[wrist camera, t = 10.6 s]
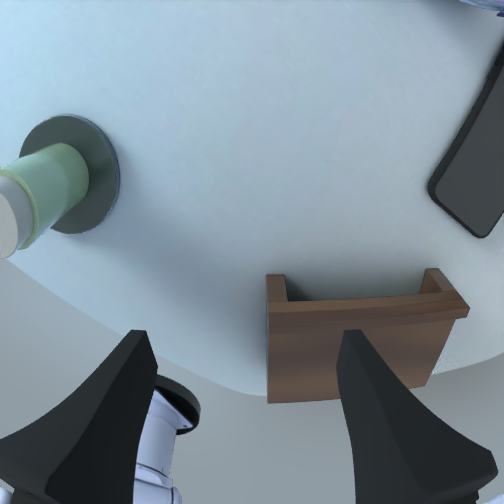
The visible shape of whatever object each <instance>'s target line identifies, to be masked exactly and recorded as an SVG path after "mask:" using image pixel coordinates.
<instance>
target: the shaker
mask: <svg viewBox="0 0 504 504" xmlns="http://www.w3.org/2000/svg"><path fill="white" fill-rule="evenodd" d="M88 187H89V172H88V168H87V165H86V162H85V160H84V159H83V157H82V155H81V154H80V153H79V152H78V151H77V150H76V149H75V148H73V147H72V146H70V145H67V144H63V143H56V144H52V145H49V146H47V147H45V148H42V149H40V150H37V151H35V152H33V153H30V154H28V155H26V156H24V157H21V158H19V159H17V160H15V161H13V162H10V163H8V164H6V165H4V166H2V167H0V258H7V257H9V256H11V255H12V254H13V253H14V252H15V251H16V250H23V249H26V248H28V247H29V246H30V245H32V244H33V243H34V242H35V241H36V240H37V239H38V238H39V237H40V236H42V235H43V234H44V233H45V232H46V231H47V230H48V229H50V228H51V227H52V226H53V225H54V224H55V223H57V222H58V221H59V220H60V219H61V218H62V217H64V216H65V215H66V214H67V213H68V212H70V211H71V210H72V209H73V208H74V207H76V206H77V205H78V204H79V203H80V202H81V201H82V200H83V199H84V197H85V195H86V193H87V191H88Z"/></svg>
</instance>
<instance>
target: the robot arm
mask: <svg viewBox="0 0 504 504" xmlns="http://www.w3.org/2000/svg"><path fill="white" fill-rule="evenodd" d="M157 369H158V365H157V362H156V359H155V357H154V353H153V350H152V347H151V344H150V341H149V338H148V335H147V332H146V331H145V330H131V331H130V332H129V333H128V334H127V335H126V336H125V337H124V338H123V339H122V341H121V342H120V343H119V344H118V345H117V346H116V347H115V349H114V350H113V351H112V352H111V353H110V354H109V356H108V357H107V358H106V359H105V360H104V361H103V362H102V363H101V364H100V366H99V367H98V368H97V369H96V370H95V371H94V372H93V373H92V374H91V375H90V376H89V377H88V378H87V379H86V380H85V381H84V382H83V383H82V384H81V385H80V386H79V387H78V388H77V389H76V390H75V391H74V392H73V393H72V394H71V395H70V396H68V397H67V398H66V399H65V400H64V401H62V402H61V403H60V404H59V405H57V406H56V407H55V408H53V409H52V410H50V411H49V412H48V413H46V414H45V415H44V416H42V417H41V418H39V419H38V420H36V421H35V422H33V423H31V424H29V425H28V426H26V427H24V428H23V429H21V430H19V431H17V432H15V433H13V434H11V435H8V436H7V437H4V438H2V439H0V479H2V480H3V481H5V482H6V483H7V484H9V485H10V486H12V487H13V488H14V489H15V490H14V492H13V493H11V492H9V491H8V490H6V489H4V488H2V487H0V504H182V497H181V494H180V493H179V491H178V489H177V488H175V487H172V482H173V479H171V478H169V474H170V468H171V461H172V454H173V448H174V443H175V437H176V431H177V429H183V428H191V427H193V423H192V422H191V421H190V420H189V419H188V418H187V417H186V416H185V415H184V414H183V413H181V412H180V411H179V410H178V409H177V408H176V407H175V406H174V405H173V404H172V403H171V402H170V401H169V400H168V399H167V398H166V397H165V396H164V395H163V394H162V393H161V392H160V391H159V390H158V389H155V382H156V376H157ZM336 372H337V381H338V388H339V394H340V398H341V402H342V406H343V410H344V415H345V419H346V423H347V427H348V431H349V436H350V440H351V446H352V453H353V463H354V476H355V492H356V494H355V495H356V504H476V500H478V499H479V495H478V490H479V489H481V488H482V487H484V486H485V485H486V484H488V483H489V482H490V481H491V480H493V479H494V478H495V477H496V476H497V474H498V469H497V466H496V463H495V460H494V457H493V455H492V453H491V451H490V450H487V449H486V448H484V447H482V446H480V445H478V444H476V443H475V442H473V441H471V440H469V439H468V438H466V437H465V436H463V435H462V434H460V433H458V432H457V431H455V430H454V429H453V428H451V427H450V426H449V425H447V424H446V423H445V422H444V421H442V420H441V419H440V418H438V417H437V416H436V415H435V414H433V413H432V412H431V411H430V410H429V409H428V408H427V407H426V406H424V405H423V404H422V403H421V402H420V401H419V400H418V399H417V398H416V397H415V396H414V395H413V394H412V393H411V392H410V391H409V390H408V388H407V387H406V386H405V385H404V384H403V383H402V382H401V381H400V380H399V378H398V377H397V376H396V375H395V374H394V372H393V371H392V370H391V369H390V367H389V366H388V365H387V364H386V363H385V361H384V360H383V359H382V357H381V356H380V355H379V353H378V352H377V351H376V349H375V348H374V347H373V345H372V344H371V343H370V341H369V340H368V339H367V337H366V336H365V334H364V333H363V332H362V330H361V329H352V330H344V333H343V337H342V342H341V346H340V351H339V355H338V359H337V364H336ZM483 504H504V493H503V494H501V495H499V496H497V497H495V498H493V499H491V500H489V501H487V502H485V503H483Z"/></svg>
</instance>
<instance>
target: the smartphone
mask: <svg viewBox="0 0 504 504" xmlns="http://www.w3.org/2000/svg"><path fill="white" fill-rule="evenodd" d="M428 193H429V195H430V197H431V198H432V200H433V201H434V202H435V203H436V204H438V205H439V206H440V207H441V208H442V209H444V210H445V211H446V212H447V213H448V214H449V215H451V216H452V217H453V218H454V219H455V220H457V221H458V222H459V223H460V224H461V225H462V226H463V227H464V228H465V229H467V230H468V231H469V232H470V233H471V234H472V235H473V236H475V237H477V238H485V237H486V236H488V235H489V234H490V232H491V231H492V229H493V228H494V226H495V225H496V224H497V222H498V221H499V219H500V217H501V216H502V214H503V213H504V46H503V48H502V52H501V54H500V55H499V57H498V59H497V61H496V63H495V67H494V68H493V69H492V71H491V73H490V75H489V77H488V81H487V83H486V85H485V87H484V88H483V90H482V92H481V94H480V96H479V98H478V100H477V102H476V103H475V105H474V107H473V109H472V111H471V113H470V114H469V116H468V118H467V120H466V121H465V123H464V125H463V127H462V128H461V130H460V132H459V134H458V135H457V137H456V139H455V140H454V142H453V144H452V145H451V147H450V149H449V150H448V152H447V153H446V155H445V157H444V158H443V160H442V162H441V163H440V165H439V166H438V168H437V169H436V171H435V173H434V174H433V176H432V177H431V179H430V181H429V184H428Z"/></svg>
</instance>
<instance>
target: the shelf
mask: <svg viewBox="0 0 504 504" xmlns="http://www.w3.org/2000/svg"><path fill="white" fill-rule="evenodd" d="M469 310H470V307H469V306H468V305H467V303H466V302H465V301H464V300H463V298H462V297H461V295H460V294H459V293H458V292H457V291H456V289H455V288H454V287H453V285H452V284H451V283H450V282H449V280H448V279H447V278H446V277H445V276H444V274H443V273H442V272H441V271H440V269H439V268H434V269H426V271H425V275H424V279H423V282H422V286H421V289H420V293H419V294H416V295H403V296H389V297H374V298H358V299H339V300H318V301H291V302H288V298H287V291H286V284H285V277H284V275H283V274H278V275H266V374H267V401H268V403H292V402H309V401H322V400H332V399H341V398H340V394H339V388H338V381H337V372H336V364H337V359H338V355H339V351H340V346H341V342H342V337H343V333H344V330H352V329H361V330H362V332H363V333H364V334H365V336H366V337H367V339H368V340H369V341H370V343H371V344H372V345H373V347H374V348H375V349H376V351H377V352H378V353H379V355H380V356H381V357H382V359H383V360H384V361H385V363H386V364H387V365H388V366H389V367H390V369H391V370H392V371H393V372H394V374H395V375H396V376H397V377H398V378H399V380H400V381H401V382H402V383H403V384H404V385H405V386H406V387H407V388H408V389H412V388H417V387H422V386H425V384H426V383H427V380H428V378H429V376H430V375H431V373H432V371H433V369H434V367H435V365H436V362H437V360H438V358H439V356H440V354H441V352H442V350H443V347H444V345H445V343H446V341H447V338H448V336H449V334H450V331H451V329H452V327H453V324H454V322H455V319H459V318H466V317H467V315H468V312H469Z"/></svg>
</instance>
